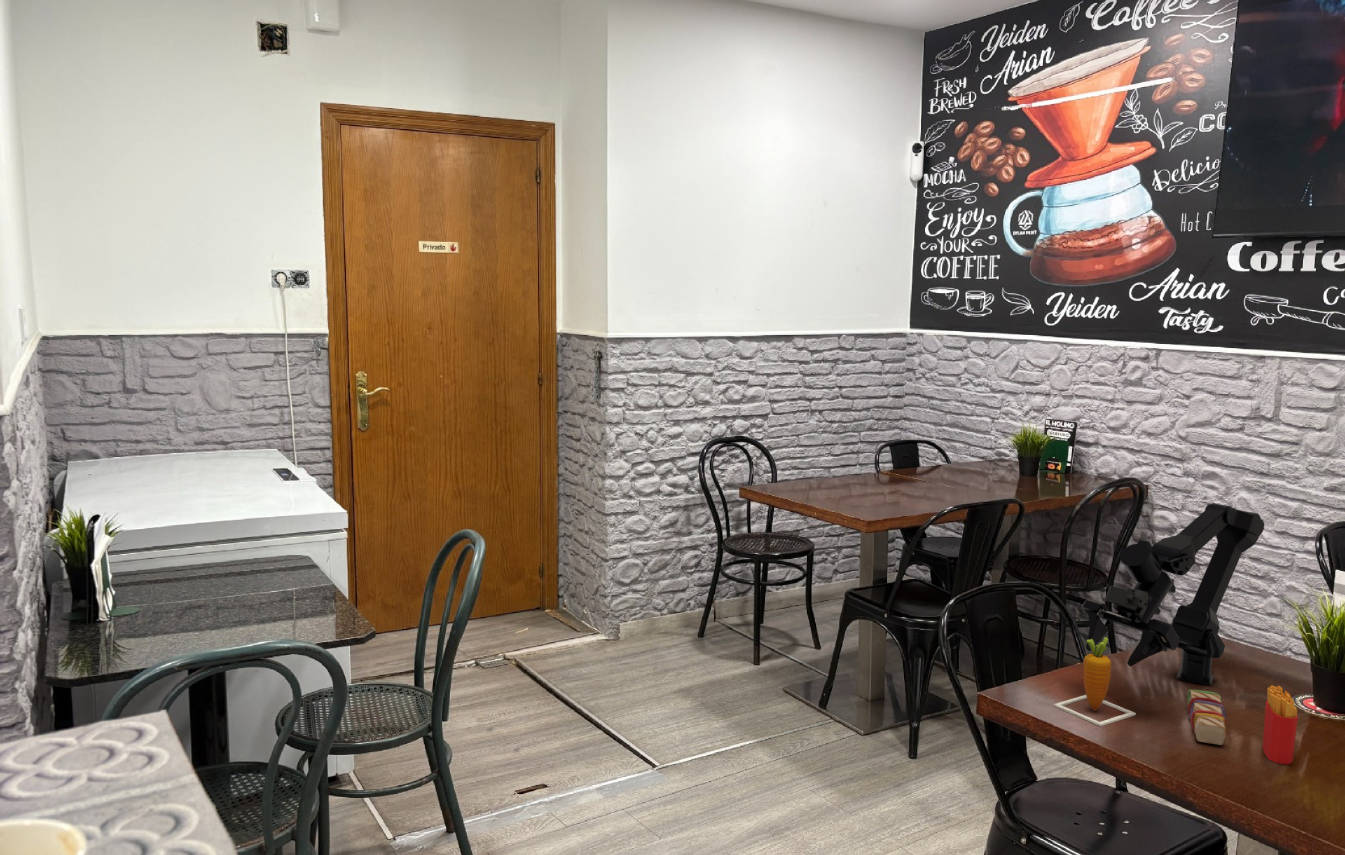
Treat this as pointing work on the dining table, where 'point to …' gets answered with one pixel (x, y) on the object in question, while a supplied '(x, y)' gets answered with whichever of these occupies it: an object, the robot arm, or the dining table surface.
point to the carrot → (1096, 674)
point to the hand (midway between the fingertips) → (1107, 657)
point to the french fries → (1279, 726)
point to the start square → (1102, 723)
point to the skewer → (1207, 716)
